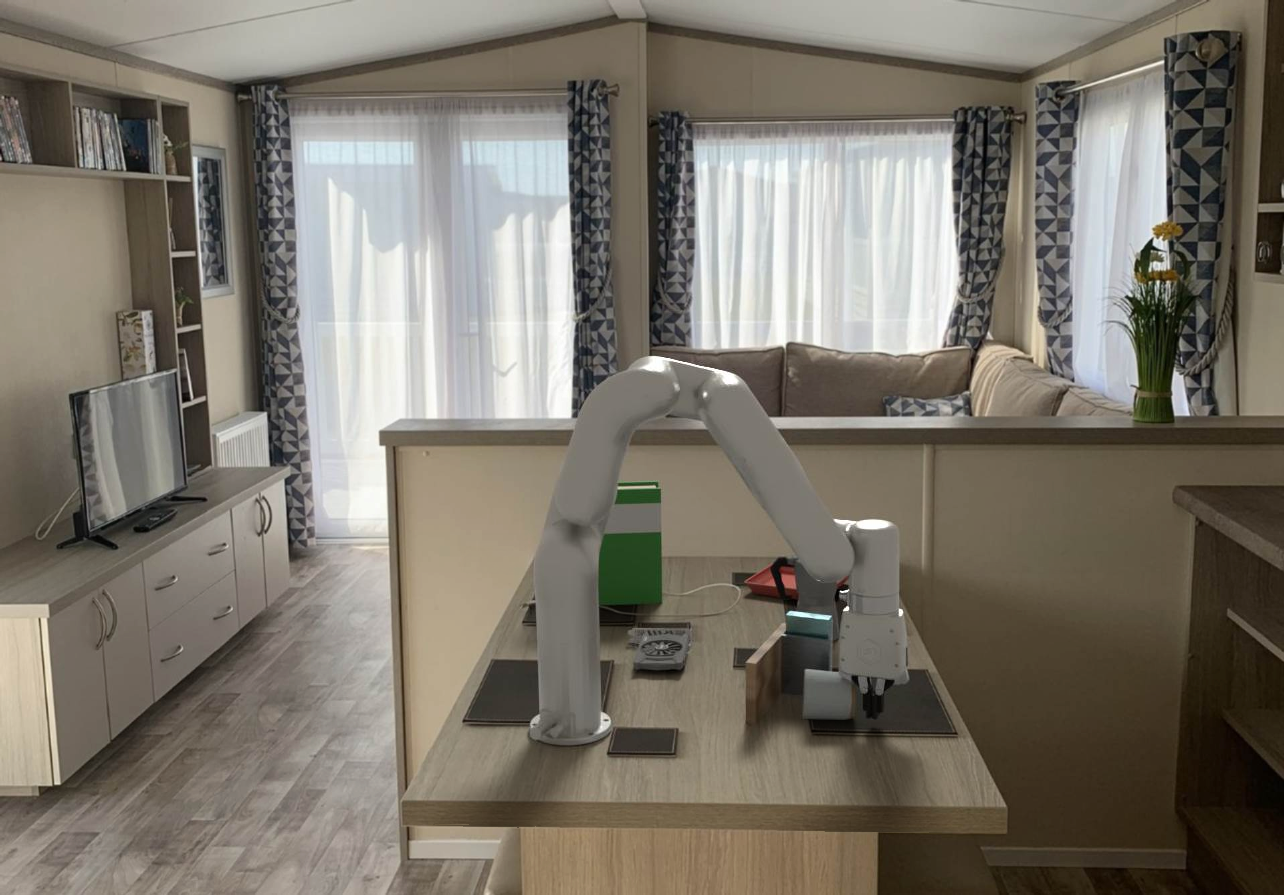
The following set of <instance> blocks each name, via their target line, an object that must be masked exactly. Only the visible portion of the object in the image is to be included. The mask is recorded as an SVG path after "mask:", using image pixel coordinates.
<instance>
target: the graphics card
mask: <svg viewBox="0 0 1284 895" xmlns="http://www.w3.org/2000/svg"><path fill="white" fill-rule="evenodd" d="M648 631H649V633H650V634H651V635H649V633H648ZM659 631H660V633H661V634H660V633H659ZM670 631H671V632H672V634H671V632H670ZM654 632H655V633H654ZM666 632H668V633H666ZM692 632H693V631H692V627H690V629H689V628H686V627H685V628H684V627H683V628H681V627H680V628H673V627H672V628H670V627H668V628H667V627H665V628H664V627H662V628H661V627H658V628H657V627H655V628H654V627H653V628H651V627H649V628H648V627H647V628H646V627H633V628H632V629H630V630H629V629H628V630H627V635H628V636H632V638H628V644H629V643H640V644H638V648H637V651H636V653H635V656H634V659H633V669H634V670H637V671H638V670H641V669H642V670H652V671H667V670H670V669H677V671H681V670H683V667H684V666H685V665H686V661H687V656H688V654H687V652H688V651H689V650H691V647H692V646H693V645H692V644H693V637H692Z"/></svg>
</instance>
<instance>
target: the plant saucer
mask: <svg viewBox="0 0 1284 895" xmlns="http://www.w3.org/2000/svg"><path fill="white" fill-rule="evenodd" d="M773 563H774V562H772V563H770V564H769V565H768V566H766V567H764V568H763V569H762V570H759V571H758V572H757V573H755V574H754V575H752V576H750V577H749V578H747V579H746V580H744V583H745V585H746V586H747V588H748V589H750V590H751V592H753V593H754V594H755V595H762V596H770V597H777V598H780V596H779V593H778V590H777V587H776V584H775V582H774V579H773V576H772V573H771V570H770V568H771V565H772V564H773ZM779 570H780V572H781V576H782V582H783V584H784V586H785V593H786V594H789V595H792V597H791V599H790V600H797V601H798V600H799V594H798V593H797V589H796V582H795V575H794V568H793V567H781V568H780V569H779ZM847 581H849V574H848V575H847V576H846V577H845V578H844V579H842V580H840V581H838V582H837V588H836V591H837V590H838V589H839V588H841V587H842V586H843V585H844V584H845V583H846V582H847Z"/></svg>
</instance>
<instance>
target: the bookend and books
mask: <svg viewBox="0 0 1284 895" xmlns="http://www.w3.org/2000/svg"><path fill="white" fill-rule="evenodd" d="M785 623H786V634H782V646H781V694H785V695H791V696H792V695H793V696H801V697H803V685H804V671H805V669H811V670H821V671H830V672H833V641H832V634H833V620H832V616H829V615H821V614H812V613H803V612H796V611H793V610H789V611H788V612H787V613H786V614H785Z"/></svg>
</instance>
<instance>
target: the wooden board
mask: <svg viewBox="0 0 1284 895" xmlns="http://www.w3.org/2000/svg"><path fill="white" fill-rule="evenodd" d="M782 634H786V622H782V623H781V624H780V625H779V626H778V628H776V629H775V631H774V632H773V633H772V634H771V635H770V636H769V637H768V638H767V639H766V640H765V641H764V642H763V644H761V646H759V648H758V649H756V651H754V653H753V654H752V655H751V656H750V657H749V659H747V660H746V661H745V724H748V725H753V726H756V725H757V724H758V723H759V721H761V719H762V718H763V716H764V715H765V713H767V711H768V710H769V708H771V707H772V705H773V704H774V703H775V701H776V700H777V698H779V696H780V695H781V694H782V693H781V646H782Z"/></svg>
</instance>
